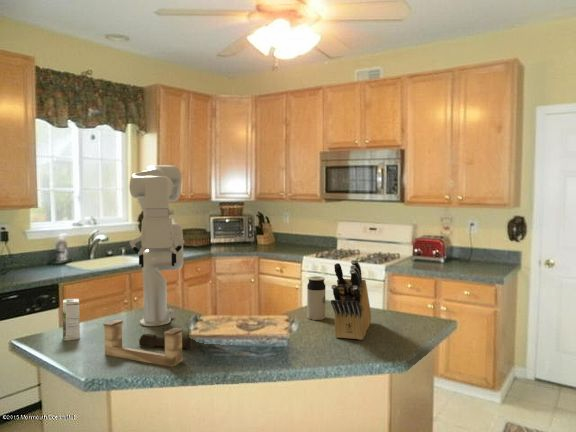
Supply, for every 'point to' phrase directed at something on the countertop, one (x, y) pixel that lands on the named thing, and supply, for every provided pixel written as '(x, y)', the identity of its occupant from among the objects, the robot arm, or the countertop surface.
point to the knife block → (351, 304)
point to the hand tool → (159, 341)
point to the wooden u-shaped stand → (115, 349)
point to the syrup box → (71, 319)
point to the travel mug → (316, 298)
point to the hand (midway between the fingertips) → (157, 266)
